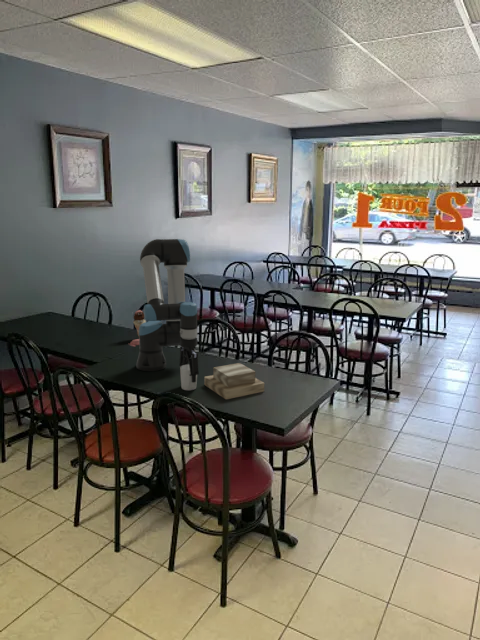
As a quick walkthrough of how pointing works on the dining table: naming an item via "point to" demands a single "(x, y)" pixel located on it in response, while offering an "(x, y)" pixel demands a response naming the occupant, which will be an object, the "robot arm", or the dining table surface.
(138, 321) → the ice cream
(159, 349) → the robot arm
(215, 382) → the oak riser
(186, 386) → the white cup
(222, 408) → the dining table surface
